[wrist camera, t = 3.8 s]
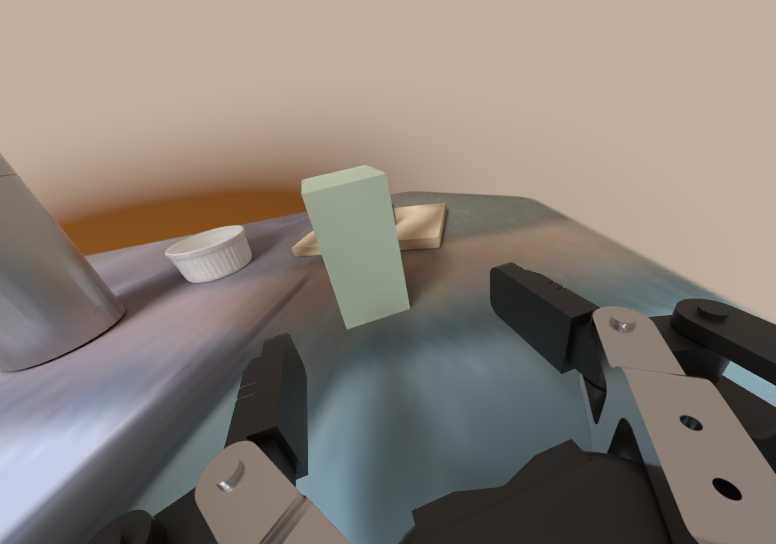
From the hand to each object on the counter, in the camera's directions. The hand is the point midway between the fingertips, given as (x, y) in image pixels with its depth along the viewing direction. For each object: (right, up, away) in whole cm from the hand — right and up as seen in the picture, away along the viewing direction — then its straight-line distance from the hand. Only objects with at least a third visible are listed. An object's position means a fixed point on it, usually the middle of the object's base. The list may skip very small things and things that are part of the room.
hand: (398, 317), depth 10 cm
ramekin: (-22, +2, +25) cm, 34 cm away
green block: (-2, -1, +13) cm, 13 cm away
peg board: (-2, +7, +26) cm, 27 cm away
